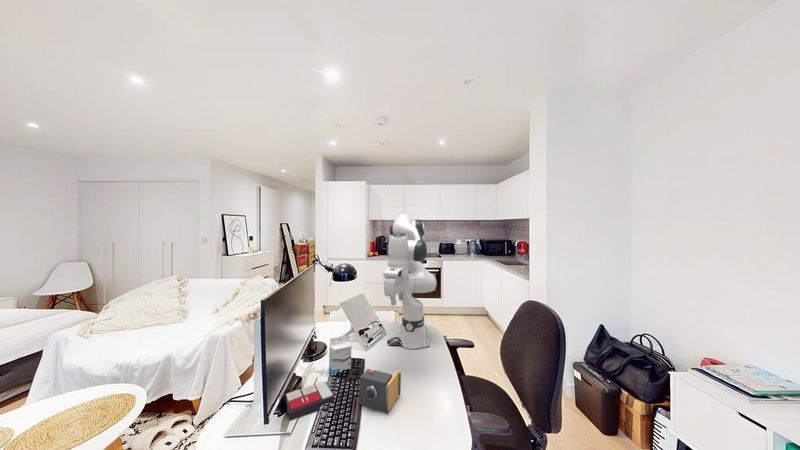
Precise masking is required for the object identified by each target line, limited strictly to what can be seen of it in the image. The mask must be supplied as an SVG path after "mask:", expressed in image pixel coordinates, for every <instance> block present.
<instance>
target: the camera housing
mask: <svg viewBox="0 0 800 450" xmlns="http://www.w3.org/2000/svg"><path fill="white" fill-rule="evenodd" d="M392 377H393V374H392V373H388V372H383V371H381V370H375V369H371V368H367V369H366V370H365V371H364V372H363V373H362V374H361V375H360V377H359V405H360V404H361V407H364V408H369V409H372V410H374V411H378V412H381V413H385V404H386V385H387V384H388V382H389V381H390V380H391V378H392Z"/></svg>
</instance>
